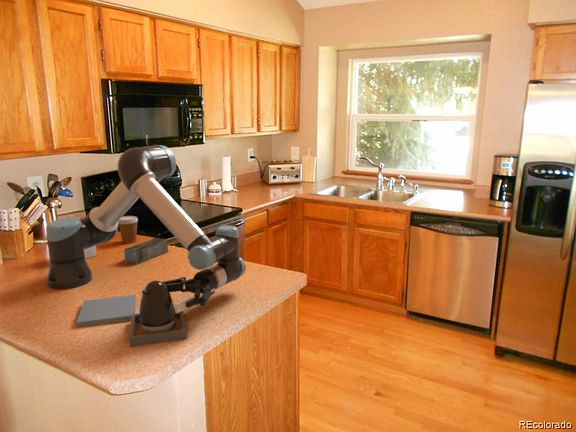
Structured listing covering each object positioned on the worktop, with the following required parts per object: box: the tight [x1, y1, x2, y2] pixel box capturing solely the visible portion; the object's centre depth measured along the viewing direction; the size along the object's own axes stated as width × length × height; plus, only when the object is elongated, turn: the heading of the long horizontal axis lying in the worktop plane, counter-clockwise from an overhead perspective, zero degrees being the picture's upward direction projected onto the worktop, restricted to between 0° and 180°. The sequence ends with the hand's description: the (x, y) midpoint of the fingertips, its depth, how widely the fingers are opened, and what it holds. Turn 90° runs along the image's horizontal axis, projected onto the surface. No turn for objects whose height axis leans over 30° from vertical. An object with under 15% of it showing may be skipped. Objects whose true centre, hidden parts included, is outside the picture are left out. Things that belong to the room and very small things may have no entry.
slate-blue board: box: [76, 294, 137, 328], centre depth 138 cm, size 16×16×2 cm
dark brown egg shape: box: [138, 280, 176, 334], centre depth 125 cm, size 10×10×15 cm
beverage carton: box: [123, 237, 169, 265], centre depth 191 cm, size 8×19×7 cm, turn 154°
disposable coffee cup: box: [118, 215, 139, 244], centre depth 212 cm, size 10×10×12 cm
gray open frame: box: [128, 310, 187, 348], centre depth 127 cm, size 15×15×2 cm
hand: (159, 303), depth 125 cm, fingers open, 13 cm apart
